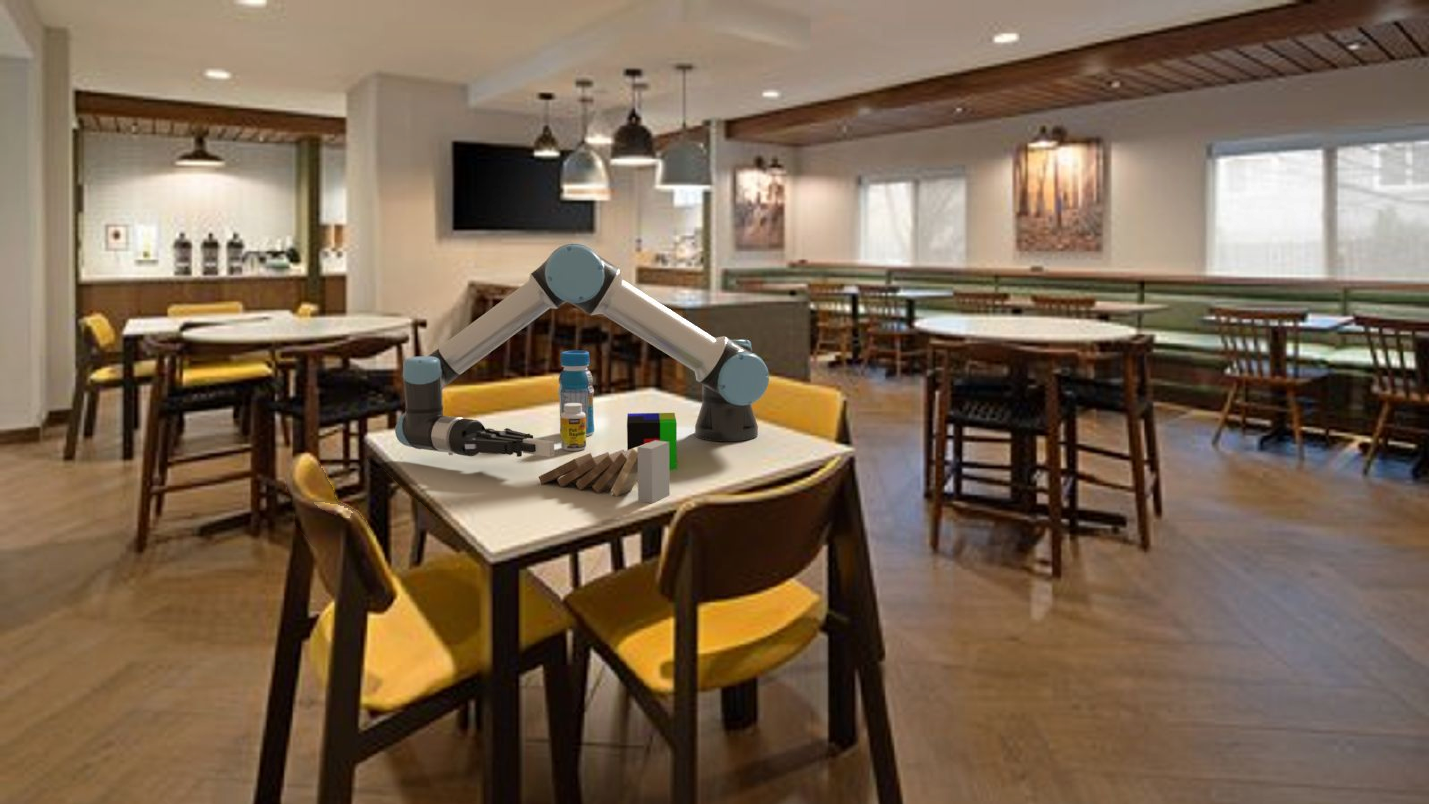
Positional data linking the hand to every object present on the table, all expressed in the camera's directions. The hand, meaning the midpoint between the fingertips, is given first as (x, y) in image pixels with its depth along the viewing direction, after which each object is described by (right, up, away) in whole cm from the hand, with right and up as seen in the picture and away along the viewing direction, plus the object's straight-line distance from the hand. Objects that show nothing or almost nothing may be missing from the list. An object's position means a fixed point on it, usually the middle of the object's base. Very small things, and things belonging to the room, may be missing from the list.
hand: (551, 449), depth 170 cm
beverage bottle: (-2, +1, +43) cm, 43 cm away
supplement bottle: (0, -2, +28) cm, 28 cm away
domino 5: (+14, -7, -6) cm, 17 cm away
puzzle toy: (+18, -4, +15) cm, 24 cm away
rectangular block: (+20, -8, -10) cm, 24 cm away
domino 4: (+10, -7, -4) cm, 13 cm away
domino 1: (-1, -6, +1) cm, 6 cm away
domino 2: (+3, -6, -1) cm, 7 cm away
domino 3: (+7, -7, -3) cm, 10 cm away
